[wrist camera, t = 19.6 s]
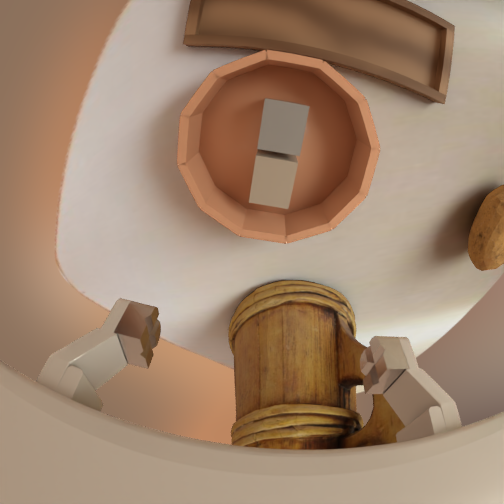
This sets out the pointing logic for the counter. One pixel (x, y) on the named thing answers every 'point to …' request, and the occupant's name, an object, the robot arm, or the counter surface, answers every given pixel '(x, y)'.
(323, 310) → the tankard
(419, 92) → the parts tray
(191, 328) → the counter surface
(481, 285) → the counter surface
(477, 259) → the potato
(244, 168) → the bowl
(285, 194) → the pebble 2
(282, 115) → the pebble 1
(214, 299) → the counter surface
